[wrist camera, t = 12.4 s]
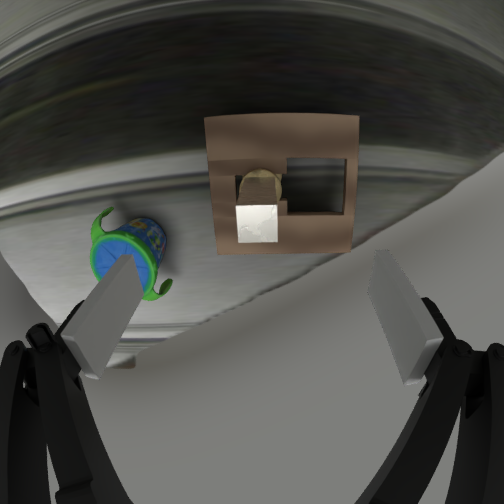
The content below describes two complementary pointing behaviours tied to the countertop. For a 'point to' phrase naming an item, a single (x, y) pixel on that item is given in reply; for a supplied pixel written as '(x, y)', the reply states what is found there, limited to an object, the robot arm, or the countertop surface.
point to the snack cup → (130, 251)
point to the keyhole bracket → (275, 159)
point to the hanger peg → (258, 206)
